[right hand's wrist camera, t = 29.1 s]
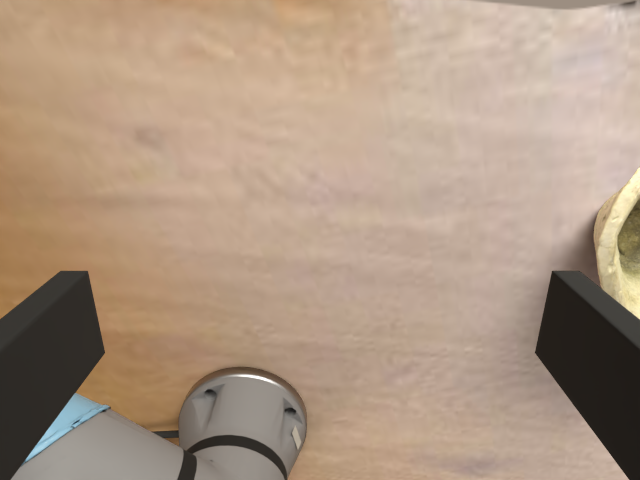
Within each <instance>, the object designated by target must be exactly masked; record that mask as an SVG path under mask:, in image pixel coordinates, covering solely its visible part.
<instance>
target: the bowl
mask: <svg viewBox="0 0 640 480" xmlns="http://www.w3.org/2000/svg"><path fill="white" fill-rule="evenodd" d="M594 243H595V251H596V259H597V269H598V275H599V280H600V284H601V288H602V290H604V291H605V292H606V293H607V294H609V295H610V296H611V297H612V298H614V299H615V300H616V301H617V302H619V303H620V304H621V305H622V306H624V307H625V308H626V309H627V310H629V311H630V312H631V313H632V314H634V315H635V316H636V317H637V318H639V319H640V167H639V168H638V170H637V171H636V172H635V174H634V175H633V177H632V178H631V179H630V180H629V181H628V182H627V184H626V185H625V186H624V187H623V188H621V189H620V191H619V192H617V193H616V194H615V195H613V196H612V197H611V198H610V199H609V200H607V201H606V202H605V204H604V205H603V206H602V208H601V209H600V211H599V212H598V215H597V219H596V222H595V226H594Z"/></svg>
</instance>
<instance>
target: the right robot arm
mask: <svg viewBox="0 0 640 480" xmlns="http://www.w3.org/2000/svg"><path fill="white" fill-rule="evenodd" d="M104 353H105V351H104V346H103V341H102V336H101V332H100V327H99V322H98V317H97V313H96V308H95V303H94V298H93V294H92V289H91V284H90V279H89V274H88V271H60V272H59V273H58V274H56V275H55V276H54V277H53V278H51V279H50V280H49V281H48V282H46V283H45V284H44V285H43V286H41V287H40V288H39V289H38V290H36V291H35V292H34V293H33V294H31V295H30V296H29V297H28V298H26V299H25V300H24V301H23V302H21V303H20V304H19V305H18V306H16V307H15V308H14V309H13V310H11V311H10V312H9V313H8V314H6V315H5V316H4V317H3V318H1V319H0V480H287V478H288V476H289V474H290V472H291V470H292V467H293V465H294V463H295V461H296V459H297V457H298V455H299V453H300V450H301V448H302V446H303V443H304V441H305V437H306V426H307V414H306V409H305V406H304V403H303V401H302V399H301V397H300V396H299V394H298V393H297V392H296V390H295V389H294V388H293V387H292V386H291V385H290V384H288V383H287V382H286V381H285V380H283V379H282V378H280V377H278V376H276V375H274V374H272V373H270V372H267V371H264V370H260V369H255V368H248V367H233V368H226V369H222V370H219V371H216V372H213V373H211V374H209V375H207V376H205V377H204V378H202V379H201V380H199V381H198V382H197V383H196V384H195V385H194V386H193V387H192V388H191V390H190V391H189V393H188V394H187V396H186V398H185V401H184V403H183V406H182V408H181V411H180V415H179V430H178V431H156V432H151V431H149V430H147V429H145V428H143V427H141V426H140V425H138V424H136V423H134V422H133V421H131V420H129V419H127V418H125V417H124V416H122V415H120V414H118V413H116V412H115V411H113V410H111V407H109V406H108V405H101V404H98V403H96V402H94V401H92V400H89V399H87V398H85V397H83V396H81V395H79V394H77V393H75V392H76V391H77V390H78V388H79V387H80V386H81V384H82V383H83V382H84V380H85V379H86V378H87V376H88V375H89V374H90V372H91V371H92V369H93V368H94V367H95V365H96V364H97V363H98V361H99V360H100V359H101V357H102V356H103V355H104ZM535 353H536V355H537V356H538V357H539V359H540V360H541V361H542V363H543V364H544V365H545V367H546V368H547V369H548V371H549V372H550V374H551V375H552V376H553V378H554V379H555V380H556V382H557V383H558V384H559V386H560V387H561V388H562V390H563V391H564V392H565V394H566V395H567V396H568V398H569V399H570V400H571V402H572V403H573V404H574V406H575V407H576V409H577V410H578V411H579V413H580V414H581V415H582V417H583V418H584V419H585V421H586V422H587V423H588V425H589V426H590V427H591V429H592V430H593V431H594V433H595V434H596V435H597V437H598V438H599V439H600V441H601V442H602V444H603V445H604V446H605V448H606V449H607V450H608V452H609V453H610V454H611V456H612V457H613V458H614V460H615V461H616V462H617V464H618V465H619V466H620V468H621V469H622V470H623V472H624V473H625V475H626V476H627V477H628V479H629V480H640V319H639V318H637V317H636V316H635V315H634V314H632V313H631V312H630V311H629V310H627V309H626V308H625V307H624V306H622V305H621V304H620V303H619V302H617V301H616V300H615V299H614V298H612V297H611V296H610V295H609V294H607V293H606V292H605V291H604V290H602V289H601V288H600V287H599V286H597V285H596V284H595V283H594V282H592V281H591V280H590V279H589V278H587V277H586V276H585V275H584V274H582V273H581V272H580V271H552V274H551V279H550V284H549V289H548V294H547V298H546V303H545V308H544V313H543V317H542V322H541V327H540V332H539V336H538V341H537V346H536V351H535ZM178 437H179V446H177V445H175V444H173V443H171V442H170V441H168V440H166V439H164V438H178Z"/></svg>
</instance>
